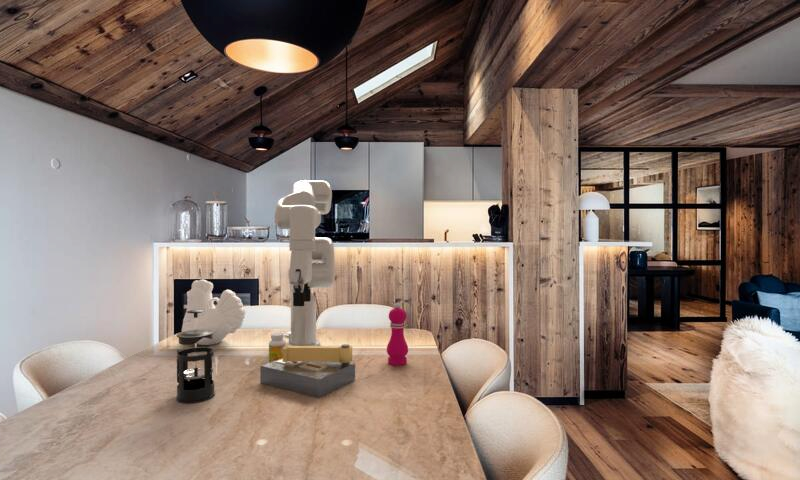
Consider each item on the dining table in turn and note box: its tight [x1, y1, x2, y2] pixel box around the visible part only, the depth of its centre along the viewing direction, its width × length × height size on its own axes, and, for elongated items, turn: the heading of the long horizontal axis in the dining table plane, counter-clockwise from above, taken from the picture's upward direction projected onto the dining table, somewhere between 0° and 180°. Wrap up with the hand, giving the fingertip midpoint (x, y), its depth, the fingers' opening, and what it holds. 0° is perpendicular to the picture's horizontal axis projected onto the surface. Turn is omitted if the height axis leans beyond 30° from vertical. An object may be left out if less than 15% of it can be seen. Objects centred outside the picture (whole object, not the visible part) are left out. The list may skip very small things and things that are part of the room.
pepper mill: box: [386, 302, 409, 367], centre depth 145 cm, size 7×7×20 cm
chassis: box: [259, 358, 356, 399], centre depth 127 cm, size 22×16×5 cm
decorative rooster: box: [181, 278, 246, 346], centre depth 167 cm, size 25×16×25 cm, turn 65°
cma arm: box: [283, 343, 353, 364], centre depth 127 cm, size 20×4×5 cm, turn 89°
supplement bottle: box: [268, 332, 287, 363], centre depth 144 cm, size 5×5×10 cm
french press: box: [175, 309, 216, 404], centre depth 115 cm, size 12×9×23 cm
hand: (302, 303), depth 132 cm, fingers open, 7 cm apart
